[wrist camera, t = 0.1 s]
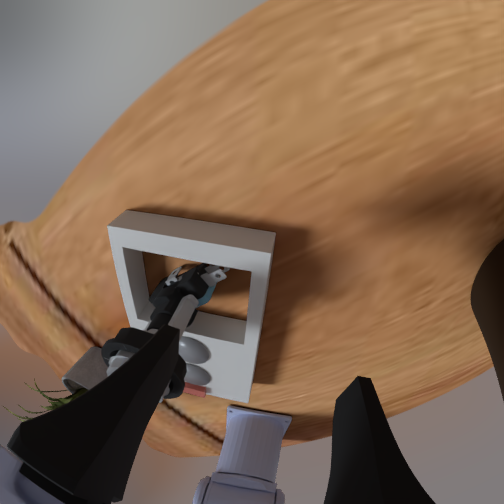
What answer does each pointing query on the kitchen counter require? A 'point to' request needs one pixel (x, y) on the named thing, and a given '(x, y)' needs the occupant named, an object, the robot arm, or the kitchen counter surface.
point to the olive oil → (491, 307)
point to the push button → (167, 319)
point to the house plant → (79, 378)
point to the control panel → (204, 325)
